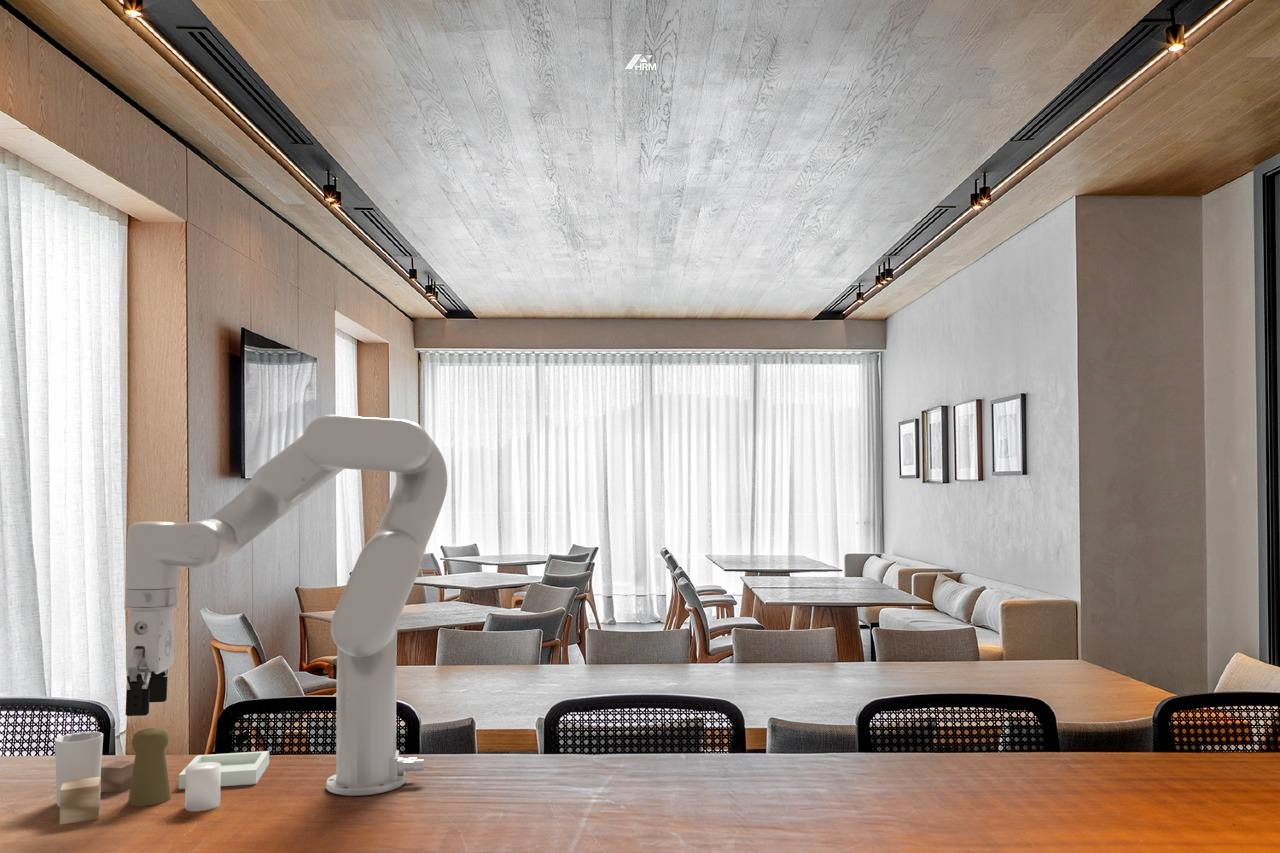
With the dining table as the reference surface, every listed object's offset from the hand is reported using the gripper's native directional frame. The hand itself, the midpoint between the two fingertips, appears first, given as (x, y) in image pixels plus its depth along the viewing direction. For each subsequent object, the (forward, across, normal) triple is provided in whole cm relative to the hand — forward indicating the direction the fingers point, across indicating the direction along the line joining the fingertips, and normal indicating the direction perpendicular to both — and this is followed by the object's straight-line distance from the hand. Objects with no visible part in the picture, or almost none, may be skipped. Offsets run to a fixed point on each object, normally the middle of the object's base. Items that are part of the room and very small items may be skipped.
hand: (146, 708), depth 157 cm
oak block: (+15, -6, +7) cm, 17 cm away
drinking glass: (+15, +2, +10) cm, 18 cm away
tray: (+14, +11, -10) cm, 20 cm away
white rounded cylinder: (+14, -5, -10) cm, 18 cm away
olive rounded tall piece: (+14, 0, -1) cm, 15 cm away
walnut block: (+15, +8, +6) cm, 18 cm away
